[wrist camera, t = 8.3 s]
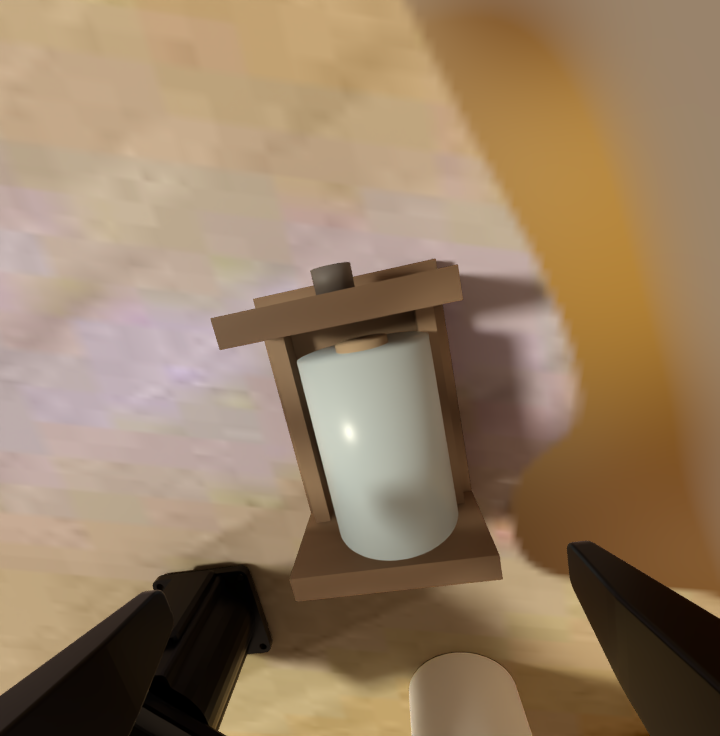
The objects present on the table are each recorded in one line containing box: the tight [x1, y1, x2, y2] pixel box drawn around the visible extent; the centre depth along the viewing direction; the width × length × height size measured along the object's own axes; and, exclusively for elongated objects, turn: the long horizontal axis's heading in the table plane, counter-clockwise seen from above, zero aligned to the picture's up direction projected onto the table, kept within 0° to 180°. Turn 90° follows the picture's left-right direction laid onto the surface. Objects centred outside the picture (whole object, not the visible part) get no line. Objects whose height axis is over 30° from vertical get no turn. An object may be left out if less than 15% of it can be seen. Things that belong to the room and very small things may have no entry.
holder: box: [210, 259, 503, 602], centre depth 16 cm, size 15×9×6 cm, turn 12°
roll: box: [297, 331, 458, 561], centre depth 15 cm, size 9×6×6 cm, turn 12°
